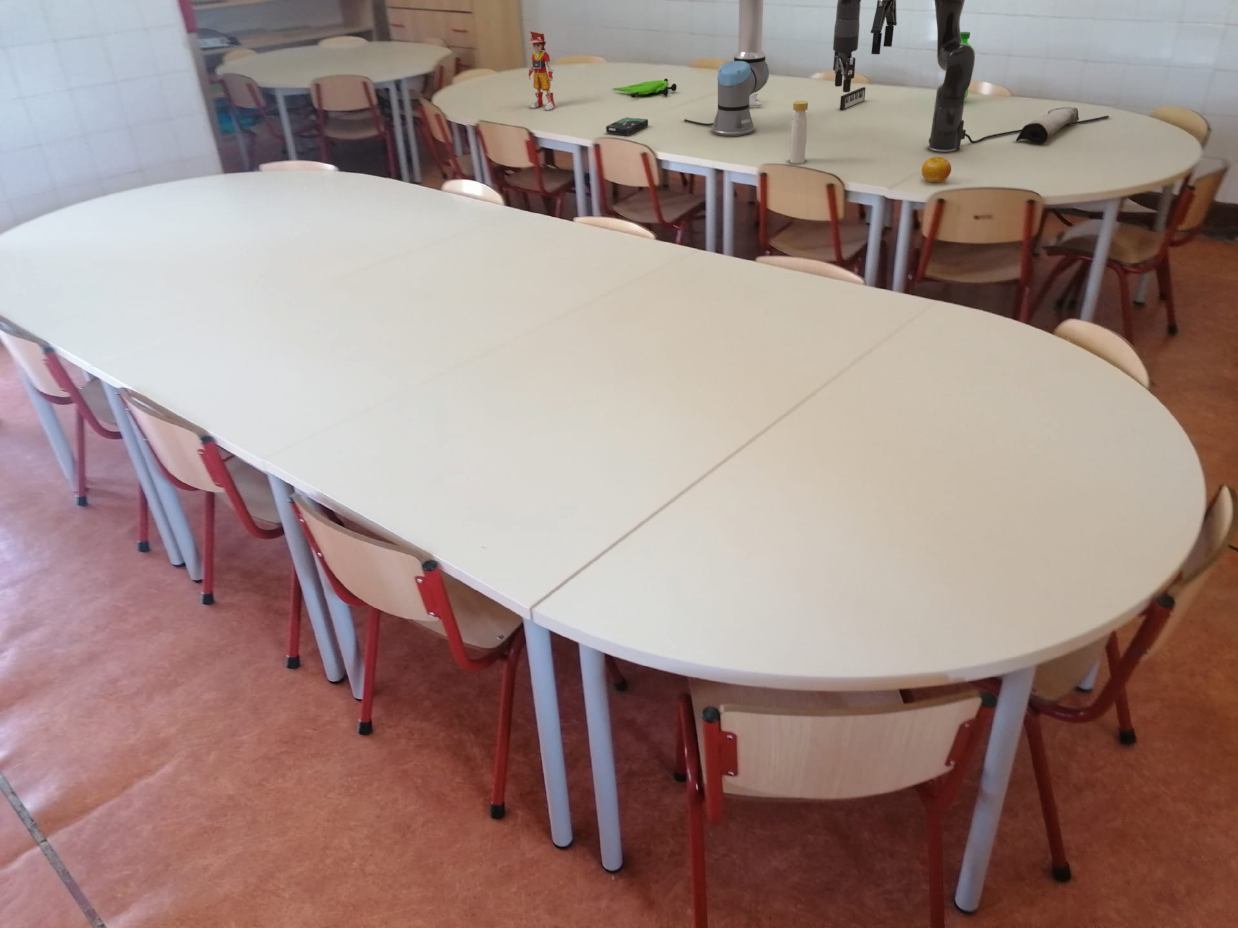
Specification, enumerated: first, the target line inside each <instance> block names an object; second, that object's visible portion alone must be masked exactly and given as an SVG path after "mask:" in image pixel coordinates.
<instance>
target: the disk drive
mask: <svg viewBox="0 0 1238 928" xmlns="http://www.w3.org/2000/svg"><path fill="white" fill-rule="evenodd" d="M648 126H649V120H648V119H647V118H639V117H636V118H635V117H628V116H627V117H624V118H621V119H619V120H617V121H614V122H613V123H610V124H608V125H606V126H605V130H606V131H605V132H606V133H607V134H613V135H619V136H621V135H622V136H630V135H633V134H634V133H637V132H638V131H641V130H643V129H645V128H646V127H648Z"/></svg>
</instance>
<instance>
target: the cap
mask: <svg viewBox="0 0 1238 928" xmlns="http://www.w3.org/2000/svg"><path fill="white" fill-rule="evenodd" d="M792 107H793V108H792V109H793V111H794V112H795V111H805V112H806V111H807V110H808V109H809V108H808V107H809V102H808V101H806V100H796V101H794V102H793V106H792Z"/></svg>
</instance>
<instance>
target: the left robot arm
mask: <svg viewBox="0 0 1238 928" xmlns="http://www.w3.org/2000/svg"><path fill="white" fill-rule="evenodd" d="M738 5H739V7H738V47H737V48H738V49H737V51H736V52H735V54H734V55H733V61H730V62H726V63H723V64H721V65H720V67H719V68H718V70H717V111H716V114H715V118H714V120H713V122H711V123H710V122H709V123H705V122H699V121H695V120H690V119H686V118H684V119H683V121H684V122H687V123H691V124H695V125H701V126H706V127H707V126H710V127H711V126H712V133H713V134H715V135H717V136H721V137H741V136H746V135H750V134H752V133H754V127H755V126H754V122H753V118H752V115H751V111H750V108H749V97H750V95H753V94H755V93H757V92H759V91H761V90H762V89H763V88H764V87H765V86H766V84H767V83H768V81H769V77H770V68H769V65H768V63H767V62H766V53H765V52H764V50H762V48H763V23H764V20H763V19H764V0H739V4H738ZM873 17H874V18H873V23H872V26H871V30H870V34H872V43H871V53H870V54H871V55H880V54H881V46H882V36H883V32H882V30H883V27H884V23H885V22H886V25H885V28H884V37H883V47H885V48H886V47H888V48H891V47H892V46H893V39H894V28H895V26H898V22H897V0H877V2H876V9H875V12H874V16H873Z"/></svg>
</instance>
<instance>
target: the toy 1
mask: <svg viewBox="0 0 1238 928" xmlns="http://www.w3.org/2000/svg"><path fill="white" fill-rule="evenodd" d="M529 33H530V35H531V36H528V37H527V38H528V39H529V40H528V41H527V43H529V44H530V43H531V44H532V48H533V50H534V51H533V52H532V55H531V58H530V59H531V63H530V66H528V74H527V75H528V76H527V77H528V79H529V80H531V75H532V74H533V84H532V85H533V86H532V87H533V88H534V89H535V90H536V92H534V95H535V97H536V100H535V101H533V102H531V105H530V108H531V109H535V108H538V107H542V106H544V101H543V100H544V99H543V95H544V92H546V94H545V97H546V99H547V103H546V104H545V106H544V110H546V111H549V110H553V109H554V107H555V106H556V105H555V99H554V92H551V91H550V90H551V86H552V84H551V82H552V81H553V80H554V77H553V73H554V71H555V70H554V69H552V68H551V63H550V61H551V59H550V58H551V57H550V54H549V53H548V52H547V50H546V48H545V46H546V44H547V41H545V35H544V33H543V32H542V33H539V32H535V31H529Z"/></svg>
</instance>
